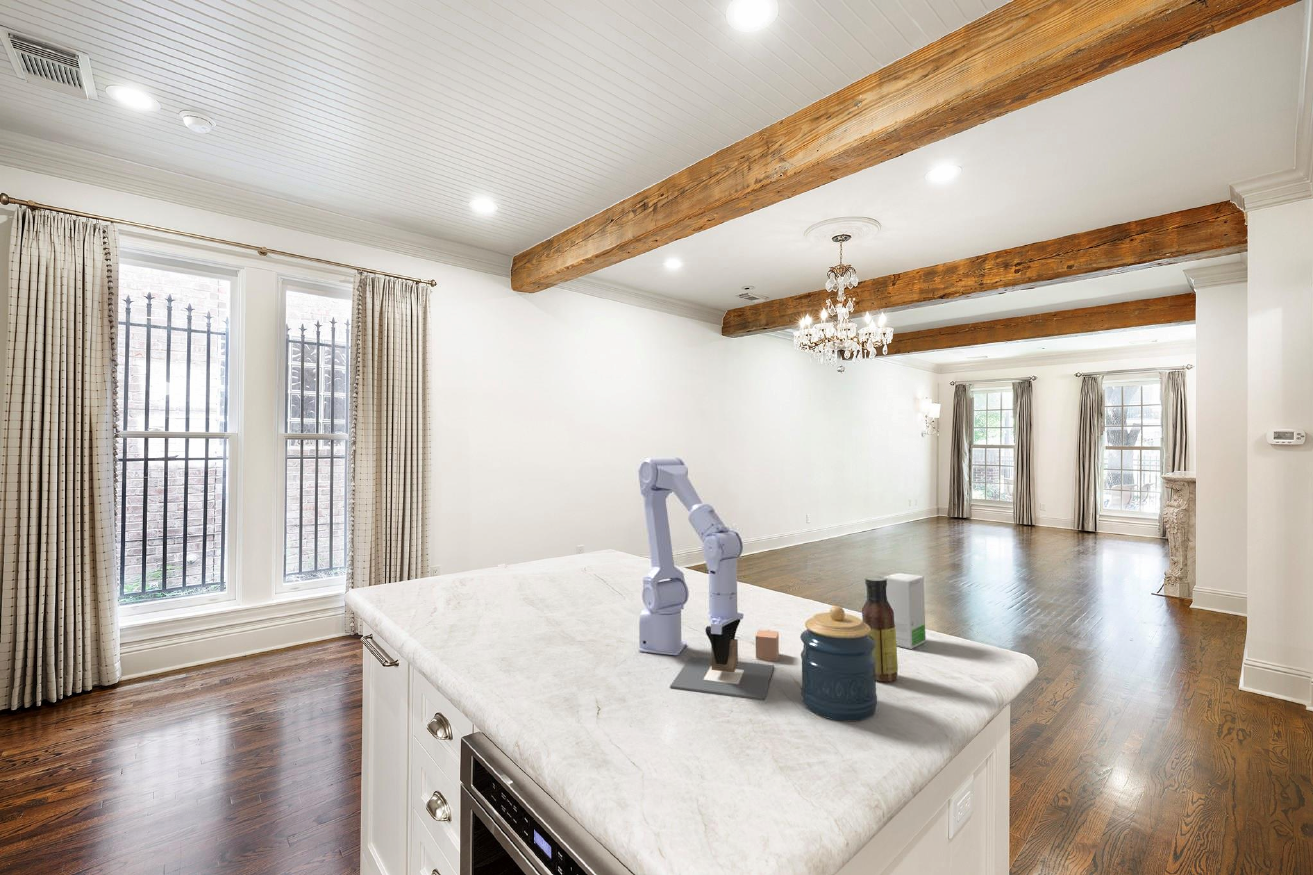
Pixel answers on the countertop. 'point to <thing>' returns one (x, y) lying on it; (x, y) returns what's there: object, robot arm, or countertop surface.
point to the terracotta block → (767, 645)
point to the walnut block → (732, 658)
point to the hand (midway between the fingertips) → (723, 658)
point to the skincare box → (907, 608)
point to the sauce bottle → (881, 628)
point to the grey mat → (724, 679)
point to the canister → (838, 666)
